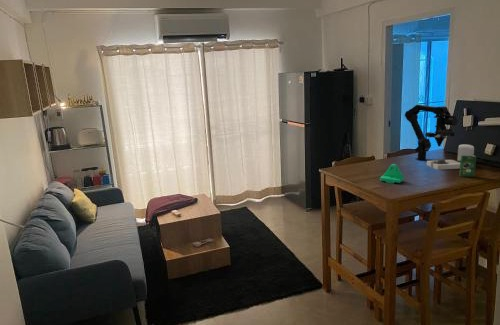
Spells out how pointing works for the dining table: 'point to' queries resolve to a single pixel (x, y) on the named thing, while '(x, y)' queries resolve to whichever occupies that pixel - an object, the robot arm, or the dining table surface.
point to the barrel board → (444, 165)
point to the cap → (440, 161)
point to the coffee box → (467, 166)
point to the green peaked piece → (392, 175)
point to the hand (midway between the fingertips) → (439, 146)
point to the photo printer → (465, 150)
